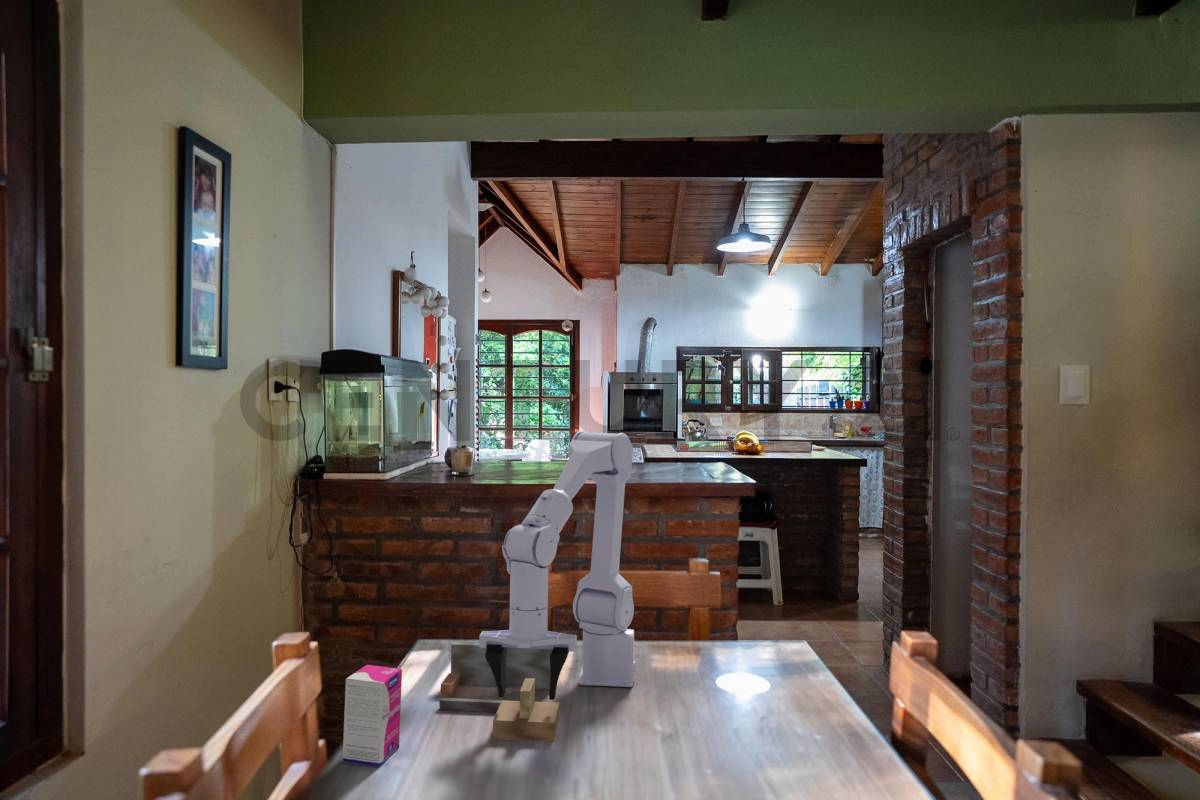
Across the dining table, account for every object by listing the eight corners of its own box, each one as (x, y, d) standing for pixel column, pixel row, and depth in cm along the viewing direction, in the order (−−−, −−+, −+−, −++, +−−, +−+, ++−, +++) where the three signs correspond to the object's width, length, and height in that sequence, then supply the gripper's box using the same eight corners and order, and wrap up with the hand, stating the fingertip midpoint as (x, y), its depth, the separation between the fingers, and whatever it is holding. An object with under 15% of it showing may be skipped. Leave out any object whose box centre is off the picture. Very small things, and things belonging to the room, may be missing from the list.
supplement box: (381, 768, 96) (382, 682, 97) (341, 763, 98) (342, 678, 98) (401, 747, 102) (402, 667, 102) (363, 743, 103) (364, 663, 103)
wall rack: (554, 685, 125) (555, 645, 125) (545, 714, 114) (545, 670, 114) (451, 681, 126) (451, 641, 126) (431, 709, 115) (432, 665, 115)
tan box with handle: (559, 721, 112) (559, 676, 112) (554, 743, 105) (554, 695, 105) (501, 719, 112) (502, 674, 112) (492, 740, 105) (493, 692, 105)
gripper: (475, 611, 105) (473, 704, 105) (573, 615, 104) (572, 709, 104) (486, 598, 112) (484, 685, 112) (578, 601, 111) (577, 690, 111)
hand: (527, 696), depth 108 cm, fingers open, 7 cm apart
